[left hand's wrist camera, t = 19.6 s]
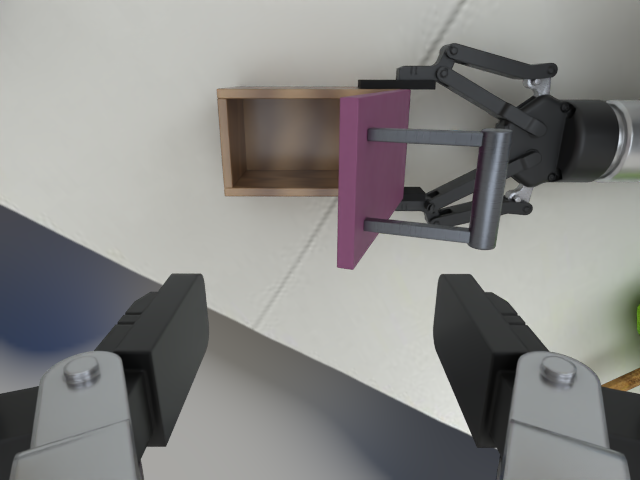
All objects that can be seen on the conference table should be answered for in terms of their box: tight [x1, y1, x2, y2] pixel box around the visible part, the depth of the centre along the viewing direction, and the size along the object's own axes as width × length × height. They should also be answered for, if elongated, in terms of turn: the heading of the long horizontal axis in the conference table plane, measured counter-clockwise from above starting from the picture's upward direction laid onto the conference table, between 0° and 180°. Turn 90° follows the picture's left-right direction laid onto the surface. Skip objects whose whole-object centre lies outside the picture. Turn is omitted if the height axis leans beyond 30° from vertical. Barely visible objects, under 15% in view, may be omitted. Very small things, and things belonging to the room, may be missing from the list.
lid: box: [337, 89, 513, 270], centre depth 30 cm, size 17×9×8 cm
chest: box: [217, 87, 399, 196], centre depth 43 cm, size 16×9×9 cm, turn 90°
